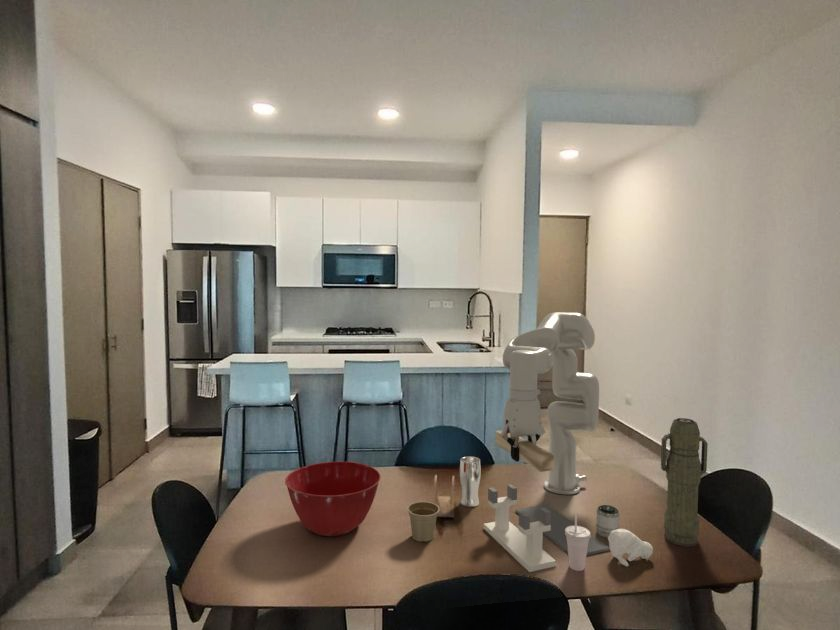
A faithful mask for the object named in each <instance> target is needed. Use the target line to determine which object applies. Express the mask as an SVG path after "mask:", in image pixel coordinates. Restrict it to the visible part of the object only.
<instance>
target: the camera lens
mask: <svg viewBox="0 0 840 630" xmlns="http://www.w3.org/2000/svg"><path fill="white" fill-rule="evenodd" d="M595 524H596V526H595V527H596V534H598V535H599V536H601V537H603V538H606V539H608V537H609V535H610V533H611V531H612V530H616V529H620V511H619V509H618V508H617V507H615V506H612V505H608V504H601V505H599V506H598V507H597V508H596V523H595Z"/></svg>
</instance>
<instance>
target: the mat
mask: <svg viewBox="0 0 840 630" xmlns="http://www.w3.org/2000/svg"><path fill="white" fill-rule="evenodd" d="M544 507H545V508H546V509H547V510H549V511H550V512H551V530H550V531H545V532H543V535H544V536H545V537H546V538H548V539H549V540H550V541H552V543H554V544H555V545H556V546H558V547H559V548H560V549H562V551H564V552H565V553H566V554H568V546H567V537H566V535H565V529H566V528H567V527H569V526H575V521H573V520H571V519H569V518H568V517H567V516H565V515H563V514H562V513H561V512H559V511H558V510H557V509H555V508H553V506H551V505H549V504H548V503H545V504H540V505H539V504H538V505H533V506H528V507H523V508H515V513H517V515H519V512H522V511H524V512H525V513H527V514H528V515H529V516H530V523H531V522H536V521H540V508H544ZM577 526H579V524H577ZM590 535H591V537H590V539H589V542H588V548H587V555H586V557H587V556H591V555H595V554H599V553H603V552H609V551H610V547H609V545H607V544H606V543H604V542H603V541H602V540H600V539H599V538H597V537H596V536H594V535H592V533H590Z"/></svg>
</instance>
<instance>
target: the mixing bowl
mask: <svg viewBox="0 0 840 630" xmlns="http://www.w3.org/2000/svg"><path fill="white" fill-rule="evenodd" d="M381 476H382V475H381V473H380V472H379V471H378V470H377V469H376V468H374V467H372V466H370V465H368V464H363V463H359V462H355V461H354V462H352V461H327V462H326V461H325V462H318V463H313V464H309V465H305V466H302V467H300V468H297V469H295V470H293V471H291V472H290V473H288V475H287V476H286V477H285V480H284V484H285V486H286V488H287V492H288V495H289V498H290V501H291V504H292V507H293V510H294V511H295V513H296V515H297V517H298V519H299V520H300V522H301V524H303V526H304V527H305V528H306V529H308V530H309V531H310V532H312V533H314V534H316V535H318V536H322V537H323V536H324V537H338V536H343V535H345V534H348V533H350V532H352V531H353V530H355V529H356V528H358V527H359V526H360V525H361V524H362V523H363V522H364V520H365V519H366V517H367V515H368V514H369V511H370V509H371V507H372V505H373V504H374V503H373V502H374V499H375V497H376V494H377V490H378V485H379V483H380V481H381Z"/></svg>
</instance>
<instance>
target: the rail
mask: <svg viewBox="0 0 840 630" xmlns="http://www.w3.org/2000/svg"><path fill="white" fill-rule="evenodd" d="M502 431H503V429H501V430H500V429H499V430H495V444H494V445H496V446H499V447H500V448H501V449H503V450H505V451H506V452H508V453H509V454H511V445H510V444H509V443H508V442H507V441H506V440H504V439H503V438H501V437H500V434H501V433H502ZM507 436H508V437H510V433H508V435H507ZM518 447H519V460H521V461H522V462H524V463H526V464H527V465H529V466H530V467H532V468H534V470H537V471H539V472H540V473H543V472H549V471H550V470H554V455H553V454H552V453H550V452H549V450H545V449H544V448H542V447H541V446H539V445H537V444H536V445H535V444H533V443H531V442H529V441H528V440H527V438H524V437H523V436H520V437H519V441H518Z"/></svg>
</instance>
